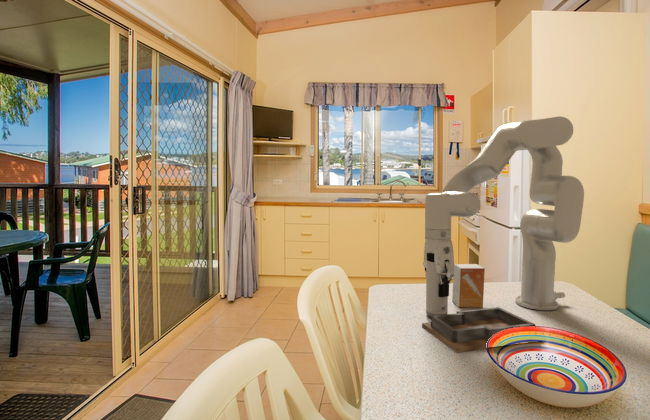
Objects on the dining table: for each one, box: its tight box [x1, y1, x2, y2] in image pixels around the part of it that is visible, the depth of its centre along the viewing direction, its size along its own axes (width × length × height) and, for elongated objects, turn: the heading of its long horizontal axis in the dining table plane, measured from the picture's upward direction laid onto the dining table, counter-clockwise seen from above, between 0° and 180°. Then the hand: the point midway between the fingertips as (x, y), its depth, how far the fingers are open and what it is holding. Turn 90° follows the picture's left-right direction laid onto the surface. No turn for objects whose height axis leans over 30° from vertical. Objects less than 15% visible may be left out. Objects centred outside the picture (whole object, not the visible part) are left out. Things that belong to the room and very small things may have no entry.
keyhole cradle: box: [421, 306, 536, 353], centre depth 107 cm, size 25×17×4 cm
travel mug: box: [425, 253, 449, 317], centre depth 119 cm, size 6×7×20 cm
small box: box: [451, 263, 486, 308], centre depth 131 cm, size 8×6×13 cm
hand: (437, 292), depth 120 cm, fingers closed on travel mug, 6 cm apart
